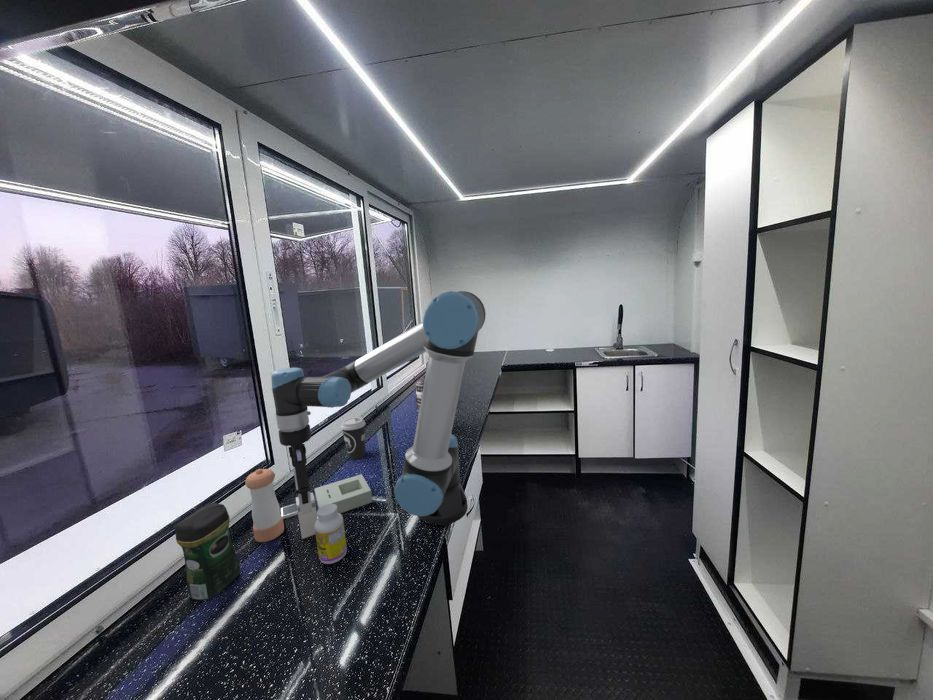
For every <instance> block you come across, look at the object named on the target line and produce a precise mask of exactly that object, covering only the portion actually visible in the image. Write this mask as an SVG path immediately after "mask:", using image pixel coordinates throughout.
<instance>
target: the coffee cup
mask: <svg viewBox="0 0 933 700" xmlns="http://www.w3.org/2000/svg"><path fill="white" fill-rule="evenodd" d="M365 426H366V421H365V420H364V418H363V417H360V416H355V417H354V416H353V417H349V418H346V419H344V420H343V421H342V423H341V425H340V429H341V430H342V435H343V439H344V443H345V448H346V452H347V456H348V457H347V458H348V459H349V460H359V459H361V458H364V457H365V456H366V440H365V439H366V434H365V433H366V430H365Z"/></svg>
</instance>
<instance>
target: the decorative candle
mask: <svg viewBox="0 0 933 700" xmlns="http://www.w3.org/2000/svg"><path fill="white" fill-rule="evenodd" d="M424 381H425V378H423V379H418V380H417V381H416V383H415V384H414V385H415V388H416V390H415V391H416V393H415V395H414V397H415V399H414V400H415V402H416V403H415V406H416V411H417V412H418V415H419V410H420V404H421V398H422V392H423V387H424ZM418 415H417V416H418Z"/></svg>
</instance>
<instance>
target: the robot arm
mask: <svg viewBox="0 0 933 700" xmlns="http://www.w3.org/2000/svg"><path fill="white" fill-rule="evenodd" d="M484 305H485V304H484V303H483V301H482V300H481V298H479V297H478V296H477V295H475V294H474V293H472V292H469V291H467V290H466V291H463V290H462V291H461V290H459V291H452V290H451V291H446V292H442V293H440V294H438V296H435V297H434V298H433V299H432V300H431V301H429V303H428V305H426V307H425V309H424V311H423V316H422V321H421V322H419V323H418V324H416V325H414V326H412V327H411V328H409V329H407V330H406V331H404V332H401V334H398V335H397V336H395V337H394V338H391V339H390V340H389V341H387V342H385V343H383V344H382V345H379V346H378V347H376V348H375V349H373V350H371V351H370V352H368V353H366V354H364V355H362V356H361V357H359V358H357V359H356V360H354V361H352V362H350V363H348V364H347V365H345V366H344V367H341V368H339V369H337V370H335V371H331V372H330V373H328V374H326V375H325V374H324V375H322V376H305V374H304V370H303V368H301V367H287V368H281V369H278V370H275V371H273V372H272V374H271V391H272V395H273V396H272V397H273V402H274V407H275V417H276V418H275V420H276V426H277V429H278V439H279V443H280V444H281V446H285V447H288V448H287V449H288V453H289V458H290V459H291V466H292V467H293V475H294V483H295V491H294V492H295V493H294V494H295V495H298V496H297V497H299V505H300V512H301V515H304V514H307V513H310V512H312V504H311V496H310V493H311V487H310V483H309V475H308V469H307V461H308V460H307V449H306V448H307V447H306V445H305V443H307V442H308V441H310V440H311V438H312V433H311V425H310V424H309V423H310V419H309V416H310V415H311V414H312V413H311V411H309V410H308V407H320V408H332V409H333V408H340V407H343V406H346V405H347V404H348V402H349V400H350V399H351V397H352V396H351V395H352V393H354V392H356V391H357V390H360V389H361V388H363V387H365V386H366V385H368V384H370V383H372V382H374V381H375V380H377V379H379V378H380V377H382V376H385V375H386V374H388V373H390V372H391V371H393V370H395V369H397V368H398V367H401V366H403V365H405V364H406V363H408V362H409V361H411V360H413V359H415V358H417V357H419V356H421V355H423V354H425V353H427V354H428V358H427V359H428V360H427V365H426V371H425V374H424V375H425V376H424V379H425V381H424V387H423V392H422V398H421V404H420V410H419V415H417V416H418V418H417V422H416V428H415V429H416V430H415V432H414V433H415V434H414V438H413V439H414V440H413V445H412V446H411V447H409V448H408V449H407V450H406V452H405V455H404V462H403V467H402V472H401V475H400V477H398V479H397V481H396V482H395V485H394V488H393V489H394V490H393V492H394V497H395V501H396V503H397V504H398V505H400V508H402V510H404V511H405V512H406V513H407V514H410V515H411V516H416V517H417V518H418V517H419V518H420V519H422V520H424V521H426V522H429V523H434V524H447V525H451V524H453V523H456V522H458V521H460V520H461V519H462V518H464V516H465V515H466V514H467V512H468V509H469V507H468V498H467V495H466V494H465V491H464V488H463V487H462V484H461V478H460V476H461V475H460V473H461V472H460V463H459V444H458V439H457V437H456V436H455V435H454V434H453V433H452V431H453V427H454V421H455V416H456V412H457V406H458V402H459V401H458V400H459V396H460V393H461V388H462V387H461V386H462V383H463V381H462V380H463V376H464V371H465V367H466V362H467V361H468V360H470V359H471V358H473V357H474V356H475V349H476V346H477V345H476V344H477V339H478V337H479V336H478V335H479V331H481V329H482V328H483V326H484V323H485V322H486V314H487V313H486V308H485V306H484ZM419 518H418V519H419ZM420 519H419V520H420Z"/></svg>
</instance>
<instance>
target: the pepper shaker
mask: <svg viewBox="0 0 933 700" xmlns="http://www.w3.org/2000/svg"><path fill="white" fill-rule="evenodd" d="M275 478H276V473H275V472H274V471H273V470H272V469H269V468H263V469H262V468H258V469H256V470H255V471H254V472H251V473H250V474H249V475H248V476H247V477H246V479H245V486H246V487H247V489H249V491H250V497H251V518H252V521H253V524H252V531H253V536H254V541H256V542H257V543H265V542H269V541H272V540H274V539H276V538H278V537H279V536H281V534H282V533H284V531H285V523H284V519H283V517H282V516H281V508H280V504H279V501H278V499H277V497H276V492H275V488H274V487H275V486H274V481H275Z"/></svg>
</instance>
